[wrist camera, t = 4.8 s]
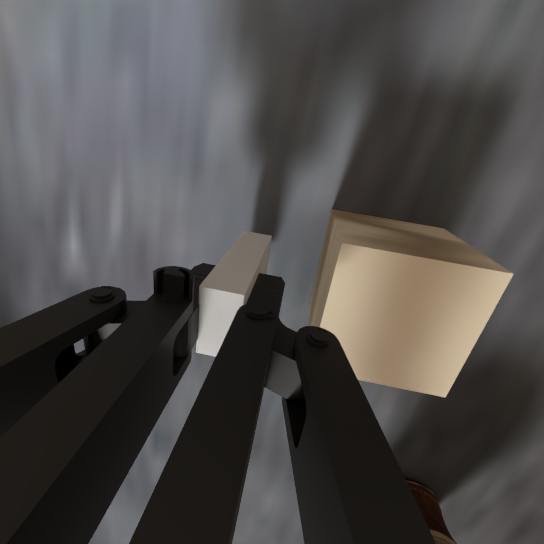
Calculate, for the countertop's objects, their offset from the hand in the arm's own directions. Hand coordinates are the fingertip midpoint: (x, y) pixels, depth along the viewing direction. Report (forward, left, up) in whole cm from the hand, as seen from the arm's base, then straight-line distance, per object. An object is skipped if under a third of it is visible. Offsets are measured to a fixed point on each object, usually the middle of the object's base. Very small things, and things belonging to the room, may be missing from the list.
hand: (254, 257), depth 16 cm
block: (+7, 0, -2) cm, 7 cm away
